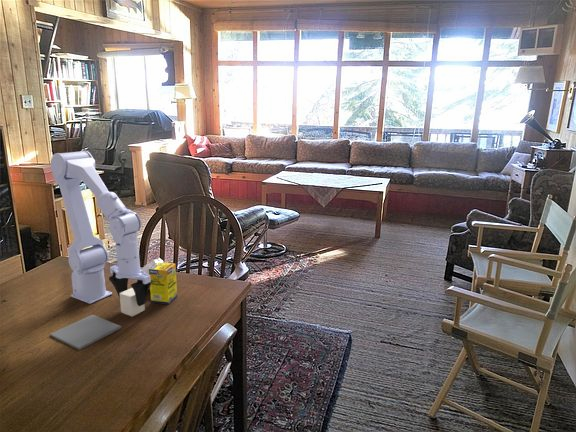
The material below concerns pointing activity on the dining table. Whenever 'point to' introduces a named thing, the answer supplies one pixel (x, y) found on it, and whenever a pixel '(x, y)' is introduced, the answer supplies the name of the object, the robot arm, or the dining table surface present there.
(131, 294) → the cream block
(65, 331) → the gray mat
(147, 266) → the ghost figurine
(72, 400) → the dining table surface
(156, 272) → the supplement box
